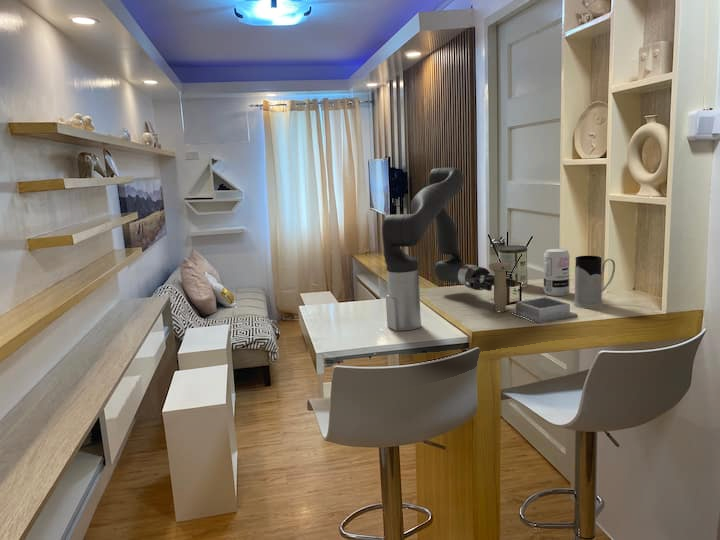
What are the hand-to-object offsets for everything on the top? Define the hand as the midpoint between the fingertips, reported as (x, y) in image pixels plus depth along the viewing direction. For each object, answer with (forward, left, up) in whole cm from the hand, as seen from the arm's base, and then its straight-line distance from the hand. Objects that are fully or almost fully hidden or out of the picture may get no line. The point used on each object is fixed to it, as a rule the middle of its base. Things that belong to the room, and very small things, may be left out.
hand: (502, 285), depth 184 cm
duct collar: (+8, -9, -9) cm, 15 cm away
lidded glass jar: (+24, +28, -9) cm, 38 cm away
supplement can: (+28, +9, -9) cm, 31 cm away
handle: (0, +1, -9) cm, 9 cm away
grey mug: (+29, -8, -9) cm, 31 cm away
